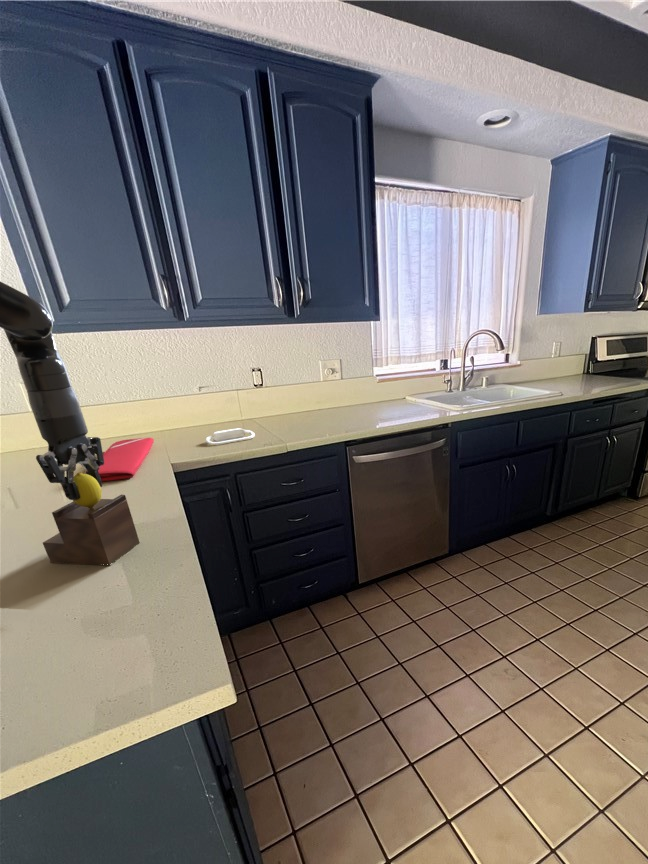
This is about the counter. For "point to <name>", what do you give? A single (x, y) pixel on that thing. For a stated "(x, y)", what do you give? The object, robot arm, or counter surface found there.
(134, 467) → the folded red towel
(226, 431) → the white butter dish
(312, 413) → the counter surface
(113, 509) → the wooden step block
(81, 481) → the lemon
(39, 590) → the counter surface
